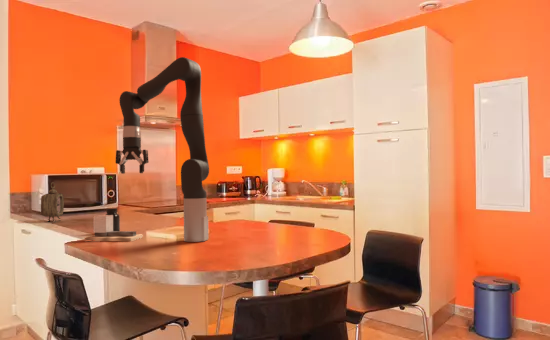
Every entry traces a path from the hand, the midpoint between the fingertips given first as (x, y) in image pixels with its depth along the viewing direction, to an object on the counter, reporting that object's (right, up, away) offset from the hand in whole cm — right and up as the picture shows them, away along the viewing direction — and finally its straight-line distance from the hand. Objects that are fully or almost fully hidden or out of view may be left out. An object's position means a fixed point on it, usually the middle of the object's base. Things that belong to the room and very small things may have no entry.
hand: (132, 173), depth 175 cm
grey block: (-9, -25, -8) cm, 28 cm away
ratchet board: (-5, -28, -8) cm, 29 cm away
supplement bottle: (-13, -29, +11) cm, 34 cm away
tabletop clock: (-77, -31, +73) cm, 111 cm away
